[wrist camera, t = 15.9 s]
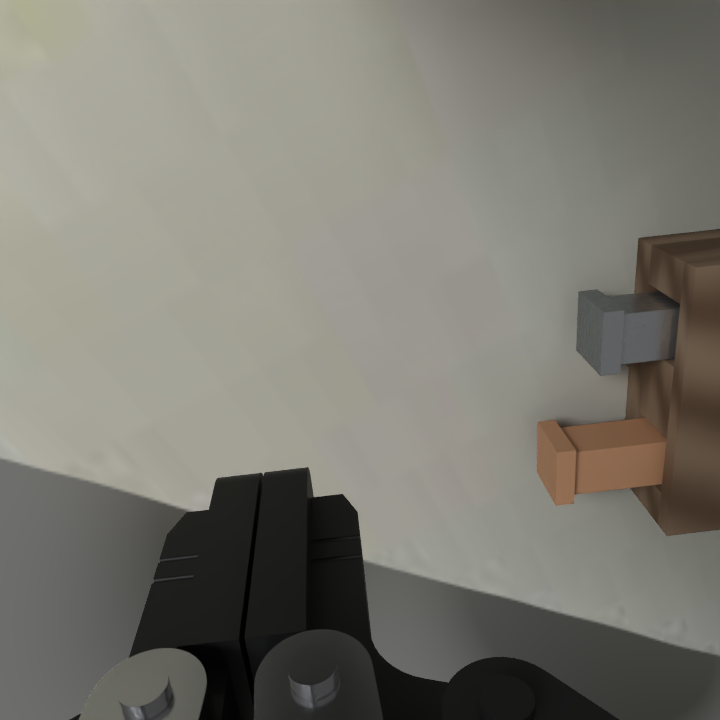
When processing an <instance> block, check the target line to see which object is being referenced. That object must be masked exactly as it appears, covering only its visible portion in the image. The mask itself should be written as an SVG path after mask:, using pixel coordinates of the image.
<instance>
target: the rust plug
mask: <svg viewBox="0 0 720 720" xmlns="http://www.w3.org/2000/svg"><path fill="white" fill-rule="evenodd" d="M665 450H666V439H665V438H664V437H663V436H662V435H661V434H660V433H659V431H658V430H657V429H656V428H655V427H654V426H653V425H652V424H651V423H650V422H649V421H648V420H647V419H646V418H639V419H630V420H621V421H613V422H604V423H595V424H587V425H578V426H569V427H561V428H560V426H559V425H558V424H557V422H556V421H555V420H550V421H541V422H538V427H537V473H538V475H539V476H540V478H541V480H542V482H543V484H544V485H545V487H546V489H547V491H548V493H549V494H550V496H551V498H552V500H553V501H554V503H555V505H564V504H573V503H574V494H582V493H591V492H599V491H608V490H616V489H624V488H633V487H641V486H650V485H658V484H662V480H663V470H664V460H665Z"/></svg>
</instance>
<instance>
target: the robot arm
mask: <svg viewBox="0 0 720 720" xmlns="http://www.w3.org/2000/svg"><path fill="white" fill-rule="evenodd" d="M70 720H619V719H617V718H616V717H614V716H613V715H611V714H610V713H608V712H607V711H605V710H604V709H602V708H601V707H599V706H598V705H596V704H595V703H593V702H592V701H590V700H589V699H587V698H586V697H584V696H583V695H581V694H579V693H578V692H577V691H575V690H573V689H572V688H570V687H569V686H568V685H566V684H564V683H563V682H561V681H560V680H558V679H557V678H555V677H554V676H552V675H551V674H549V673H548V672H546V671H545V670H543V669H541V668H540V667H538V666H536V665H534V664H531V663H529V662H526V661H523V660H519V659H515V658H508V657H492V658H486V659H481V660H478V661H475V662H473V663H471V664H469V665H467V666H465V667H464V668H462V669H461V670H460V671H458V672H457V673H456V674H455V675H454V677H453V678H452V679H451V680H450V682H449V683H447V682H441V681H435V680H429V679H424V678H420V677H415V676H412V675H409V674H407V673H404V672H402V671H400V670H398V669H396V668H395V667H393V666H392V665H391V664H389V663H388V662H387V661H386V660H385V659H384V658H383V657H382V656H381V655H380V654H379V653H378V651H377V650H376V648H375V647H374V644H373V642H372V639H371V629H370V620H369V611H368V601H367V591H366V582H365V574H364V565H363V556H362V547H361V539H360V530H359V521H358V513H357V511H356V510H355V508H354V507H353V506H352V505H351V504H350V502H349V501H348V500H347V499H346V498H345V496H344V495H343V494H339V495H330V496H322V497H314V496H313V489H312V483H311V476H310V471H309V468H308V467H307V468H299V469H290V470H281V471H273V472H265V473H264V476H263V474H262V473H257V474H248V475H239V476H231V477H222V478H217V480H216V482H215V486H214V490H213V494H212V499H211V503H210V507H209V510H204V511H195V512H187V513H186V514H185V515H184V516H183V517H182V518H181V520H179V522H178V523H177V524H176V525H175V526H174V527H173V529H172V530H171V531H170V532H169V533H168V534H167V537H166V540H165V543H164V546H163V550H162V553H161V556H160V563H158V566H157V569H156V572H155V575H154V583H153V584H152V585H151V588H150V591H149V595H148V598H147V601H146V604H145V608H144V611H143V614H142V617H141V620H140V624H139V627H138V630H137V633H136V637H135V640H134V643H133V646H132V650H131V653H130V656H129V658H128V659H126V660H124V661H123V662H121V663H120V664H118V665H117V666H115V667H114V668H113V669H111V670H110V671H109V672H108V673H107V674H106V675H105V676H104V677H103V678H102V679H101V680H100V681H99V682H98V683H97V685H96V686H95V688H94V689H93V690H92V692H91V694H90V696H89V698H88V700H87V702H86V704H85V706H84V709H83V711H82V713H81V714H79V715H77V716H76V717H74V718H72V719H70Z"/></svg>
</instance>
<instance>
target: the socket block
mask: <svg viewBox="0 0 720 720" xmlns="http://www.w3.org/2000/svg"><path fill="white" fill-rule="evenodd" d="M654 291H660V292H662V293H664V294H665V295H667V296H668V297H670V298H671V299H673V300H675V301H676V302H678V303H679V304H680V312H679V322H678V332H677V342H676V352H675V358H673V359H664V360H655V361H647V362H638V363H629V377H628V391H627V405H626V419H625V420H630V419H639V418H646V419H647V420H648V421H649V422H650V423H651V424H652V425H653V426H654V427H655V428H656V429H657V430H658V431H659V433H660V434H661V435H662V436H663V437H664V438H665V439H666V450H665V460H664V470H663V480H662V484H658V485H650V486H641V487H633V488H631V490H632V491H633V492H634V494H635V495H636V496H637V498H638V499H639V500H640V502H641V503H642V504H643V505H644V507H645V508H646V509H647V511H648V512H649V513H650V515H651V516H652V517H653V519H654V520H655V521H656V523H657V524H658V525H659V526H660V528H661V529H662V530H663V532H664V533H665V534H666V536H670V535H678V534H686V533H695V532H703V531H711V530H720V229H717V230H708V231H699V232H690V233H680V234H671V235H662V236H653V237H644V238H639V239H638V253H637V267H636V281H635V294H636V293H645V292H654Z"/></svg>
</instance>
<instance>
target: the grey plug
mask: <svg viewBox="0 0 720 720" xmlns="http://www.w3.org/2000/svg"><path fill="white" fill-rule="evenodd" d="M679 312H680V304H679V303H678V302H676V301H675V300H673V299H671V298H670V297H668V296H667V295H665V294H664V293H662V292H660V291H654V292H645V293H636V294H627V295H618V296H609V297H606V296H605V295H604V294H603V293H601V292H600V291H599V290H588V291H579V292H578V317H577V344H576V350H577V352H578V353H579V354H580V355H581V356H582V357H583V358H584V359H585V360H586V361H587V362H588V363H589V364H590V365H591V366H592V367H593V369H594V370H595V371H596V372H597V373H598V374H599V375H600V376H603V375H612V374H620V369H621V364H629V363H638V362H647V361H655V360H664V359H673V358H675V352H676V342H677V332H678V322H679Z"/></svg>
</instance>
